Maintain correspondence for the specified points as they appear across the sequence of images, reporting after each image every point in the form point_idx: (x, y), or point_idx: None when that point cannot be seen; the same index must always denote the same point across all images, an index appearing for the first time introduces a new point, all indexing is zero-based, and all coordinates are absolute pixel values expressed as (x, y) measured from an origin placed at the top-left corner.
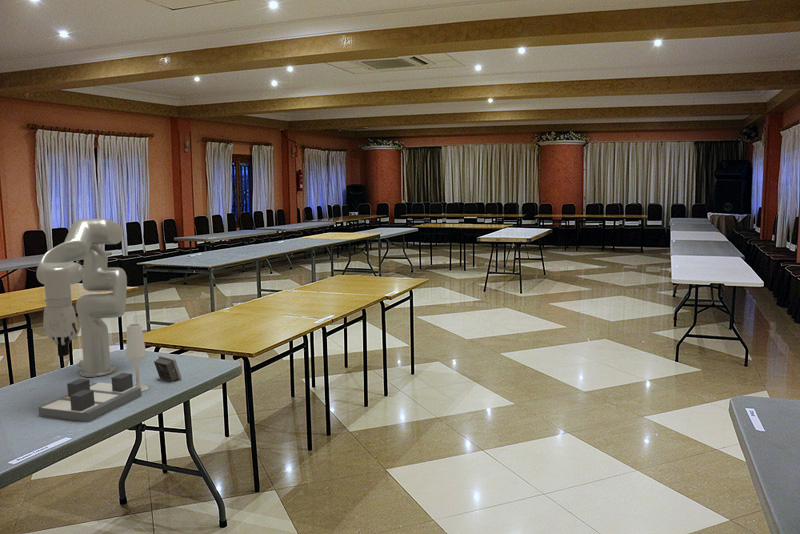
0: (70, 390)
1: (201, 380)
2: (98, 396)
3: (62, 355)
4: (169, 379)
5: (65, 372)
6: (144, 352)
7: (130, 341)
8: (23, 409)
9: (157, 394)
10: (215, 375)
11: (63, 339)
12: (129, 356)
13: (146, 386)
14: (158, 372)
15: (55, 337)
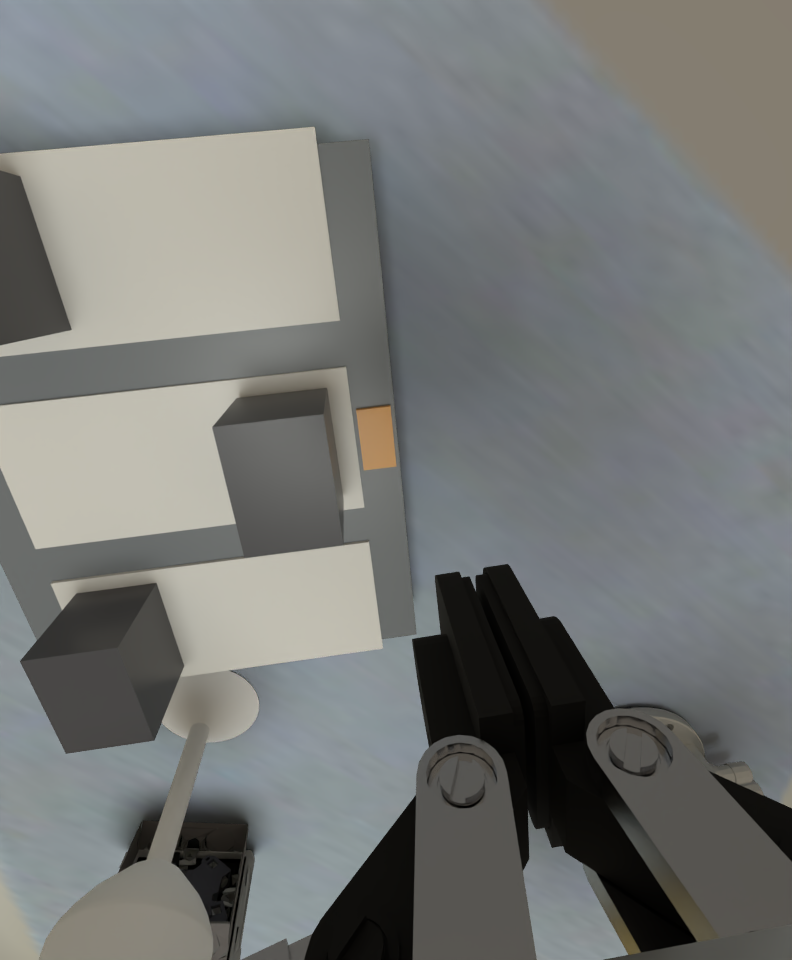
0: (295, 402)
1: (26, 877)
2: (135, 478)
3: (438, 587)
4: (180, 831)
5: (779, 709)
6: None
7: None
8: (575, 213)
9: (25, 692)
10: (34, 931)
11: (435, 911)
12: (104, 912)
13: (183, 736)
14: (242, 855)
15: (763, 911)
